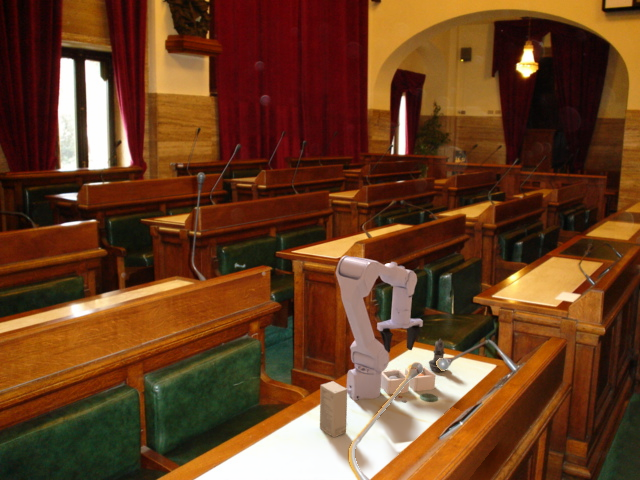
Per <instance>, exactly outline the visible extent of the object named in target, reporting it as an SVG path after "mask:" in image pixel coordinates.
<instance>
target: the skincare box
mask: <svg viewBox="0 0 640 480" xmlns="http://www.w3.org/2000/svg"><path fill="white" fill-rule="evenodd" d="M319 399H320V400H319V401H320V402H319V403H320V404H319V428H320V429H321V430H322V431H324V432H325V433H326V434H328V435H330V437H331V436H332V437H333V438H335V437H338V436H340V435H343V434H346V433H347V414H348V413H347V411H348V393H347V387H345V386H342V385H341V384H339V383H337V382H335V381H334V380H332V381H329V382H325V383H322V384H320V397H319Z"/></svg>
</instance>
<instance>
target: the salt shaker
mask: <svg viewBox="0 0 640 480" xmlns="http://www.w3.org/2000/svg"><path fill="white" fill-rule="evenodd" d="M434 343H435V345H434V350H433V351H432V352H433V359H431V360H429V361H428V365H429V368H430V371H431V372H432V371H433V372H435V373H442V372H444V371H441V370H440V369H439V368H438V367H437V365H436V361H437V360H438V359H439V358H443V359H444V356H445V354H446V352H445V342H444V341H442V338H441V337H440V338H439V340H436V341H435V342H434Z"/></svg>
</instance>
